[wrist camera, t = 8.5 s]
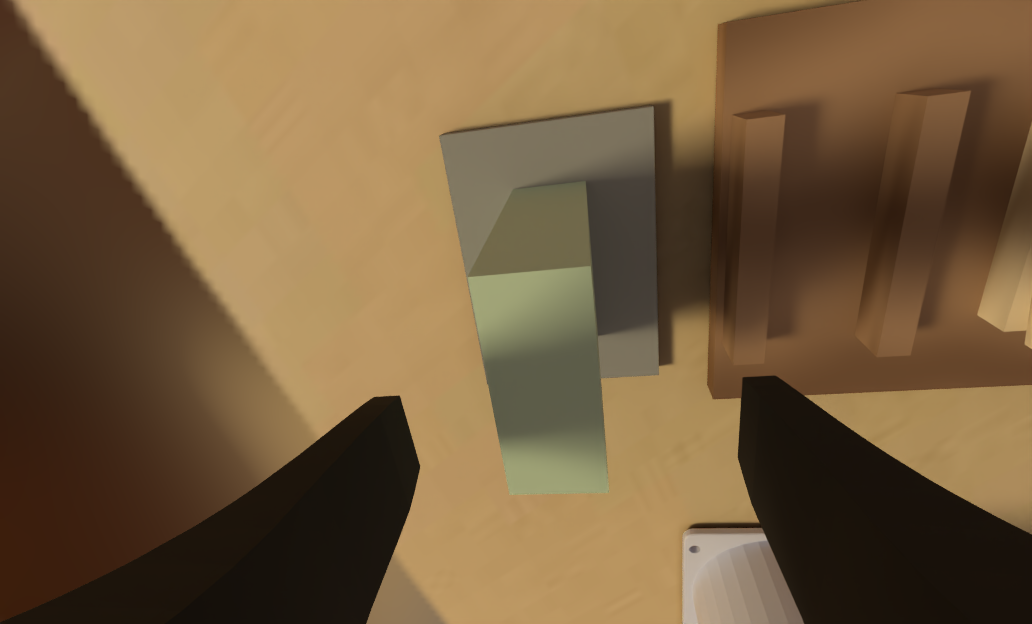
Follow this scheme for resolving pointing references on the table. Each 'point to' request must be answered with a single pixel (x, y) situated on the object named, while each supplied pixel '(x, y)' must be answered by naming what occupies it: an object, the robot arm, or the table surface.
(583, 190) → the sage green box
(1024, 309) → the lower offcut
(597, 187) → the mat
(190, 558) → the robot arm
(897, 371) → the rack
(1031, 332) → the upper offcut
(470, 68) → the table surface
